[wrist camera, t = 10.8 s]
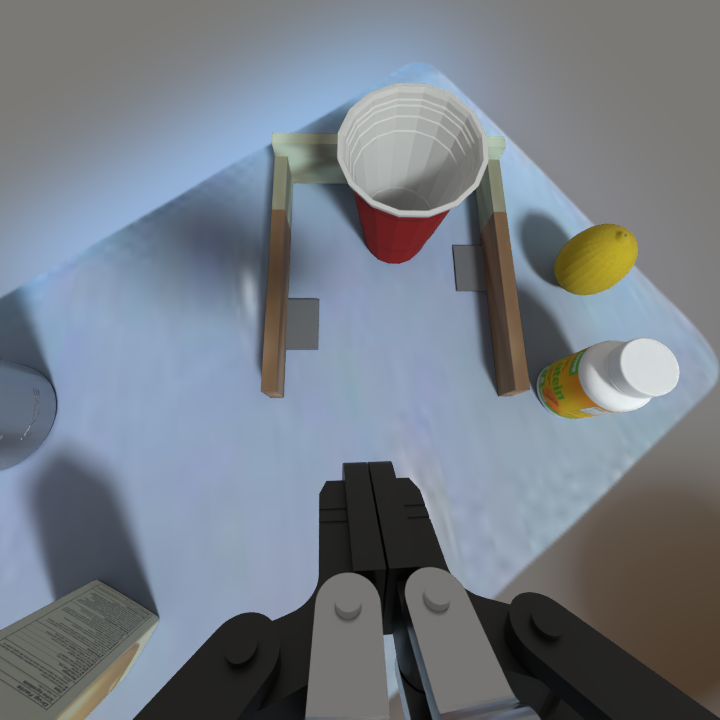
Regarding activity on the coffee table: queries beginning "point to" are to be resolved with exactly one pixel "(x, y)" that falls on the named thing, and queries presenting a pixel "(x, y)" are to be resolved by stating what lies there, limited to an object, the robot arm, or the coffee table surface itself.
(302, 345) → the pads
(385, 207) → the plastic cup
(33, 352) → the coffee table surface
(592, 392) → the supplement bottle
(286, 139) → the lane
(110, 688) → the skincare box
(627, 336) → the coffee table surface
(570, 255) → the lemon
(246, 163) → the coffee table surface
